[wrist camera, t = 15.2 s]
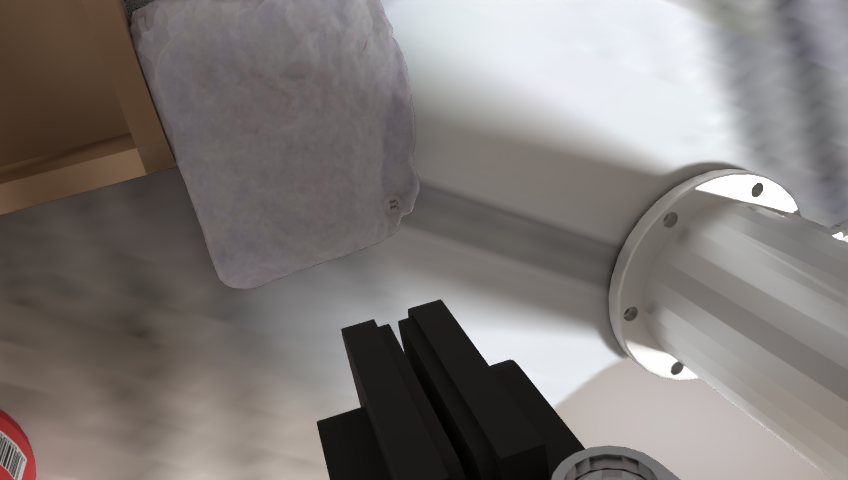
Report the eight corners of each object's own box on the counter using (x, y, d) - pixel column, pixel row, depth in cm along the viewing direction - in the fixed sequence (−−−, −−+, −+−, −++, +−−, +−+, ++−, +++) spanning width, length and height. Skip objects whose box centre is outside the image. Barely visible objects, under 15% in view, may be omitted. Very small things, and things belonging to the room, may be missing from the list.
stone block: (340, -55, 29) (100, 7, 26) (393, -59, 26) (120, 12, 22) (399, 197, 35) (208, 279, 31) (451, 225, 31) (240, 322, 27)
